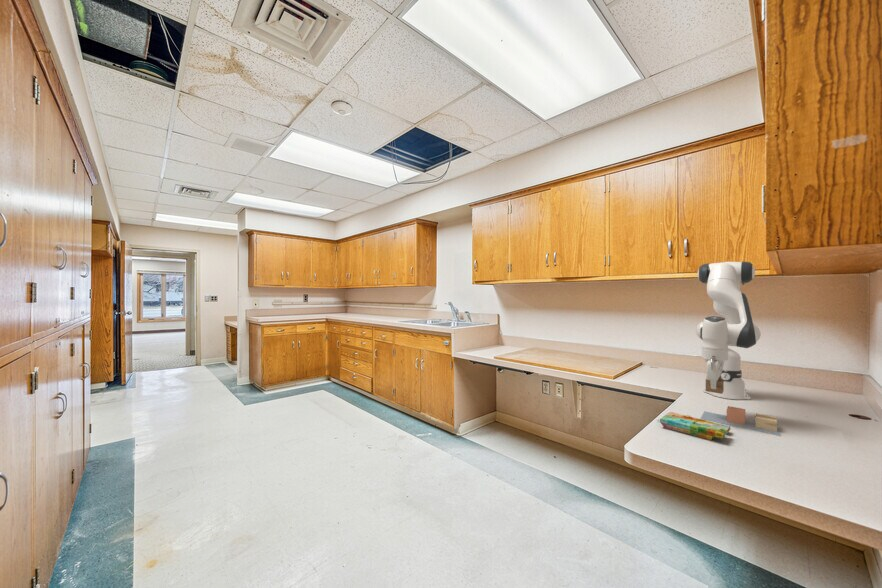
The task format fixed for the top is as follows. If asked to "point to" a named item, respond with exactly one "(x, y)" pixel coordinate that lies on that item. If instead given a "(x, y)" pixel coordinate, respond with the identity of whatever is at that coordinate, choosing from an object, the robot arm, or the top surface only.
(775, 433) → the baseplate
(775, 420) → the oak brick
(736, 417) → the terracotta block
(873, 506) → the top surface
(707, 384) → the walnut block
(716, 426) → the puzzle game
